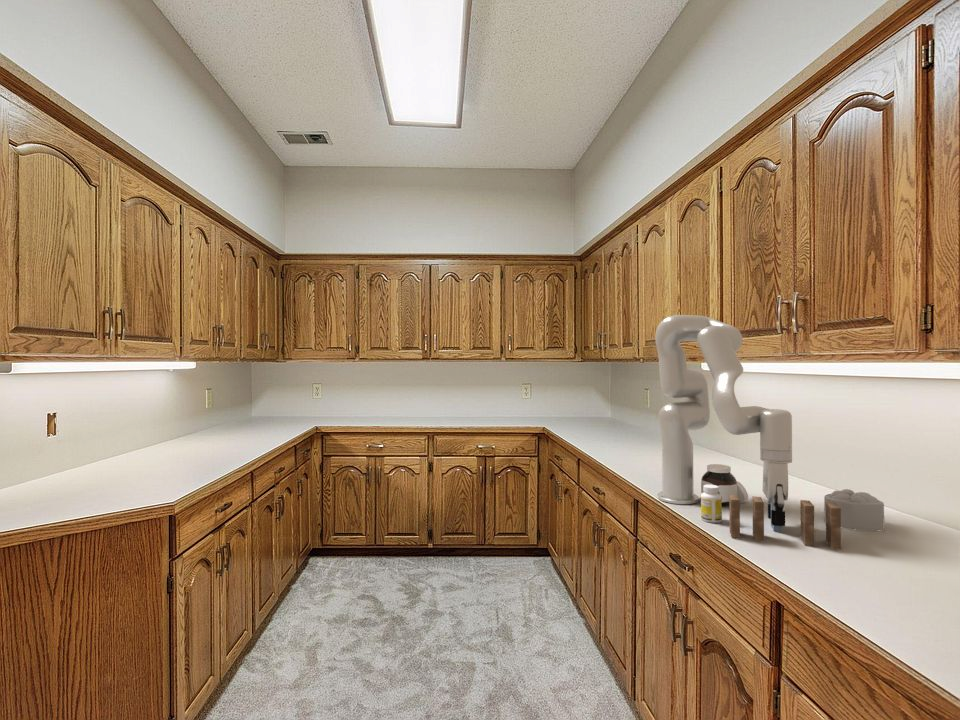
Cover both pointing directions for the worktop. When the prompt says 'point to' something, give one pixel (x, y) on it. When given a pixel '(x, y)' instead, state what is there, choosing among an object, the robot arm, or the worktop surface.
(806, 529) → the domino
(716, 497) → the supplement bottle
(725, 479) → the spread jar
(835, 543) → the domino
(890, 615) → the worktop surface
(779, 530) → the blue domino
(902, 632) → the worktop surface
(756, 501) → the domino
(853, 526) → the lumpy-topped squat cylinder
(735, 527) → the domino
